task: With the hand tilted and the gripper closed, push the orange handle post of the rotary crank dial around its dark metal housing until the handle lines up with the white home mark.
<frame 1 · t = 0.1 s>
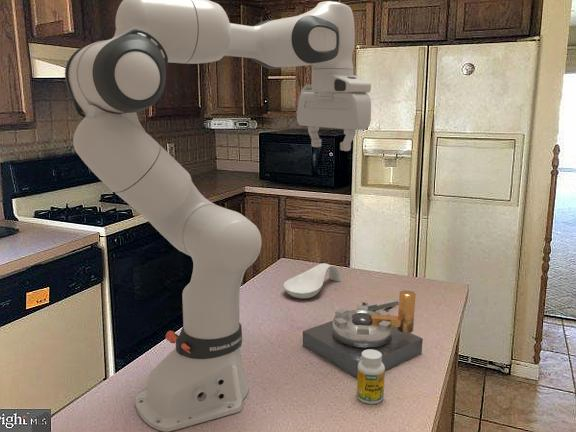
hand: (330, 148, 113), 48 cm above the counter, tool pointing down, fingers open, 8 cm apart
spoon rest: (314, 291, 162), on the counter
rotary crank dial: (373, 313, 121), point 10 cm above the counter, hinge at 0.0°
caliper: (380, 314, 144), on the counter
supplement bottle: (369, 398, 104), on the counter
housing: (361, 350, 123), on the counter
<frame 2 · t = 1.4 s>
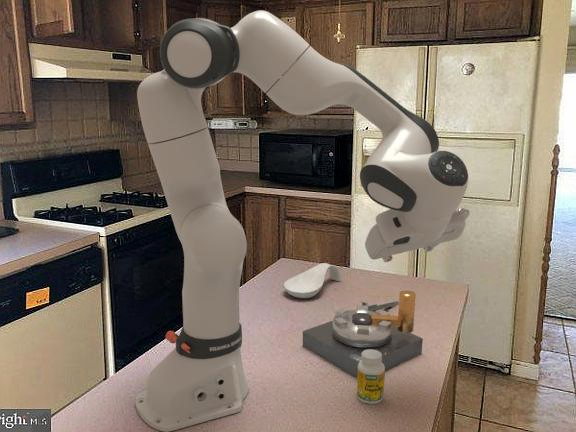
hand: (406, 253, 109), 27 cm above the counter, tool tilted 45°, fingers open, 8 cm apart
nothing on the counter moved.
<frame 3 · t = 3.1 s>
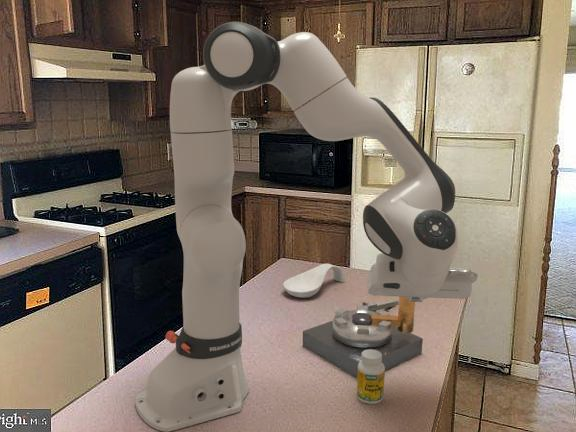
hand: (414, 298, 109), 18 cm above the counter, tool tilted 45°, fingers closed
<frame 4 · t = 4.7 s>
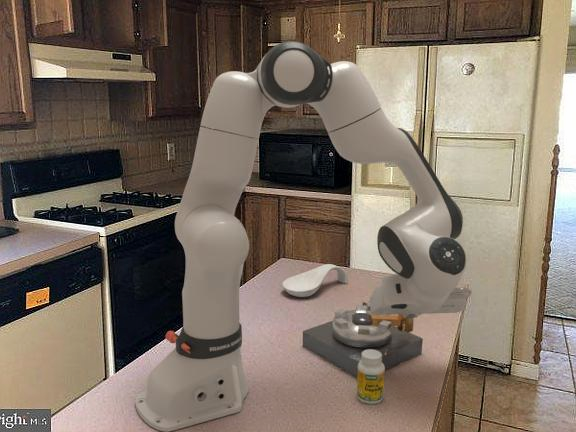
hand: (409, 314, 117), 11 cm above the counter, tool tilted 45°, fingers closed, pressing on rotary crank dial
rotary crank dial: (373, 313, 121), point 10 cm above the counter, hinge at 1.7°, touching gripper
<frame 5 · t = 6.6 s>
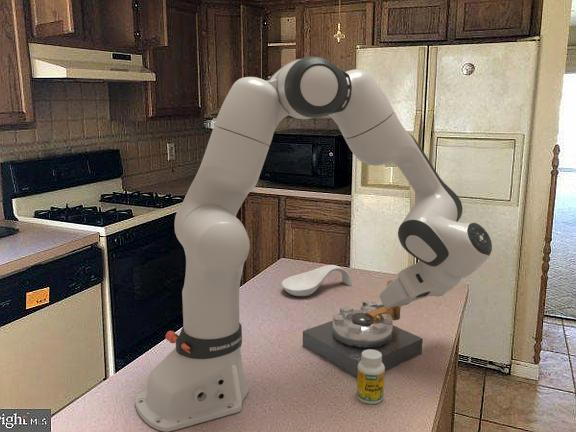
hand: (401, 302, 124), 11 cm above the counter, tool tilted 45°, fingers closed, pressing on rotary crank dial
rotary crank dial: (370, 310, 122), point 10 cm above the counter, hinge at 41.2°, touching gripper
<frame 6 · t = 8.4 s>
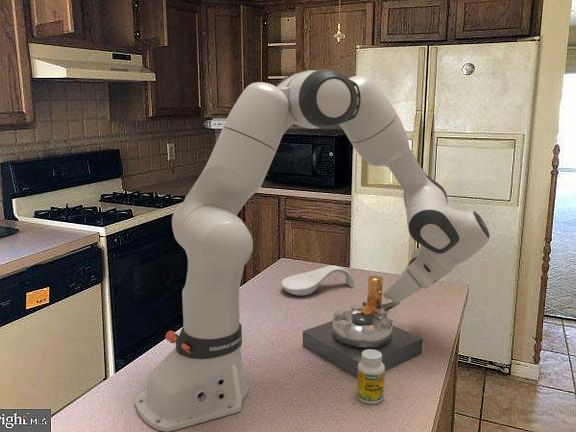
hand: (386, 295, 128), 11 cm above the counter, tool tilted 45°, fingers closed
rotary crank dial: (365, 308, 123), point 10 cm above the counter, hinge at 71.9°
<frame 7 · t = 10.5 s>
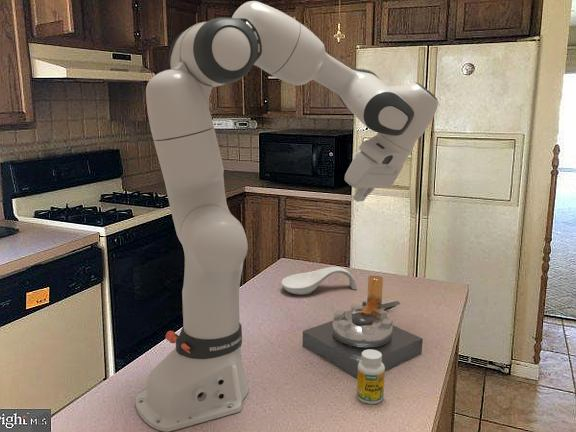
hand: (357, 200, 124), 35 cm above the counter, tool tilted 30°, fingers closed
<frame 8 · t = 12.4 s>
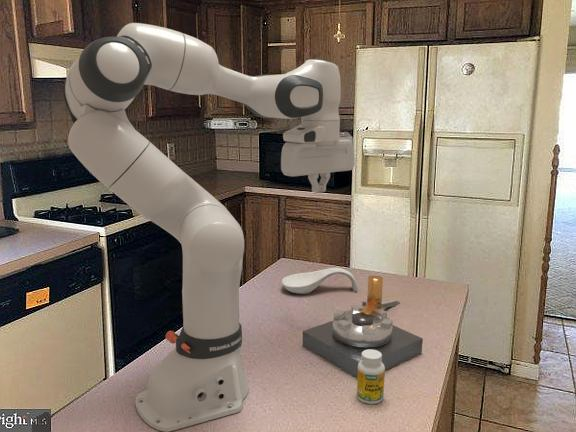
hand: (318, 192, 122), 37 cm above the counter, tool pointing down, fingers closed
at the end: rotary crank dial at +72° (first picture: +0°) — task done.
